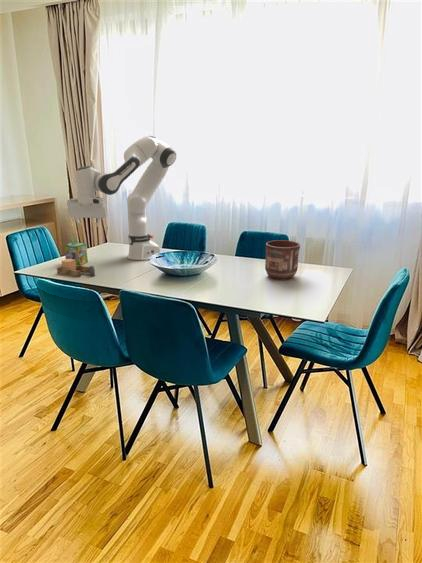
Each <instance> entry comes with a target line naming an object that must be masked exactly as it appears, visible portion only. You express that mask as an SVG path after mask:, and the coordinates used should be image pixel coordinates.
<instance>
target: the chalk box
mask: <svg viewBox="0 0 422 563" xmlns="http://www.w3.org/2000/svg"><path fill="white" fill-rule="evenodd" d="M70 241H71V242H70V243H68V244H65V245H63V249H64V256H65V260H66V259H74V260H75V261H76V265H80V266H83V265H84V264H87V263H89V262H88V252H87V250H88V249H87V243H83V242H78V241H77V238H76V237H73V238H71V239H70ZM74 241H75V242H74Z"/></svg>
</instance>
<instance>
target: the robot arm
mask: <svg viewBox="0 0 422 563" xmlns="http://www.w3.org/2000/svg"><path fill="white" fill-rule="evenodd" d="M123 159H124V162H123V163H122V164H121V165H120V166H119V167H118V168H117V169H116V170H114V172H110V173H104V172H101V171H99V170H97V169H95V168H93V166H91V165H87V166H79V167H78V168H77V170H76V173H75V178H76V179H75V181H76V187H77V191H76V196H77V198H69V199H67V201H66V206H67V216H68V217H69V218H74V220H75V222H76V224H77V227H81V226H82V222H80V220H79V219H80V218H88V219H96V221H97V222H96V223H95V224H94V225H95V227H96V228H98V227H100V223H101V220H102V219H106V218H108V215H109V214H108V206H107V205H106V199H105V198H103V197H101V196H98V195H96V192H100V193H103V194H105V195H107V196H112V195H114V194H116V193H117V192H118V191H119V190H120V188H121V186H122V184H123V183H124V182H125V181H126V180H127V179H128V178H129V177H130V176H132V174H134V172H135V171H136V170H137V169H139V167H140V168H141V166H143V164H145V163H146V162H148V161H149V159H151V160H152V161H150V163H149V164H148V166H147V167H146V169H145V171H144V172H143V173H142V175H141V177H140V178H139V180H138V182H137V184H136V185H135V187H134V189H133V190H132V192H131V193H129V194H128V196H127V198H126V205H127V220H128V221H127V223H128V224H127V225H128V236H127V237H128V240H127V241H128V253H127V254H128V255H127V259H130V260H133V261H134V260H135V261H149V260H148V259H149V258H150V257H151V256H152V255H154V254H156V253H160V252H161V248H160V246H159V245H158V244H157V243H156V242H154V241H153V240H151V239H153V238H154V235H153V234H148V219H147V207H148V205H149V203H150V201H151V200H152V198H153V196H154V194H155V192H156V190H157V189H158V188H159V186H160V185H161V183H162V181H163V179H164V178H165V176H166V174H167V172H168V170H169V168H170V167H171V166H172V165H173V164H174V163H175V162H176V160H177V152H176V151H175V149H174V148H173V147H171V146H169V144H167V142H165V141H162V140H161V139H158V138H157V137H156V136H153V135H147V136H144V137H142V138H140V139H138V140H137V141H135V142H133V144H130V146H129V147H127V148H126V150H125V151H124V153H123Z"/></svg>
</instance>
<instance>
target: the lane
mask: <svg viewBox="0 0 422 563" xmlns="http://www.w3.org/2000/svg"><path fill="white" fill-rule="evenodd" d="M56 270H57V274H58V275H62V276H63V275H64V276H69V275H70V277H75V276H77V277H76V278H82V274H81V271H82V272H83V273H87V272H88V273H89V274H90V270H89V266H85V265H76V270H70V269H64V268H62V266H59V267H57V268H56Z"/></svg>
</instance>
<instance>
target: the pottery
mask: <svg viewBox="0 0 422 563" xmlns="http://www.w3.org/2000/svg"><path fill="white" fill-rule="evenodd" d="M300 248H301V244H300V243H299V242H296V241H294V240H293V241H292V240H286V239H282V240H281V239H280V240H279V239H276V240H270V241H267V242H266V243H265V264H264V270H265V273H266V274H267V276H268V277H269V276H270V277H271V279H272V278H274V279H273V280H276V279H288V280H290V279H292V278H294V276H295V275H296V274H297V271H298V267H299V254H300ZM270 277H269V278H270Z"/></svg>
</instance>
